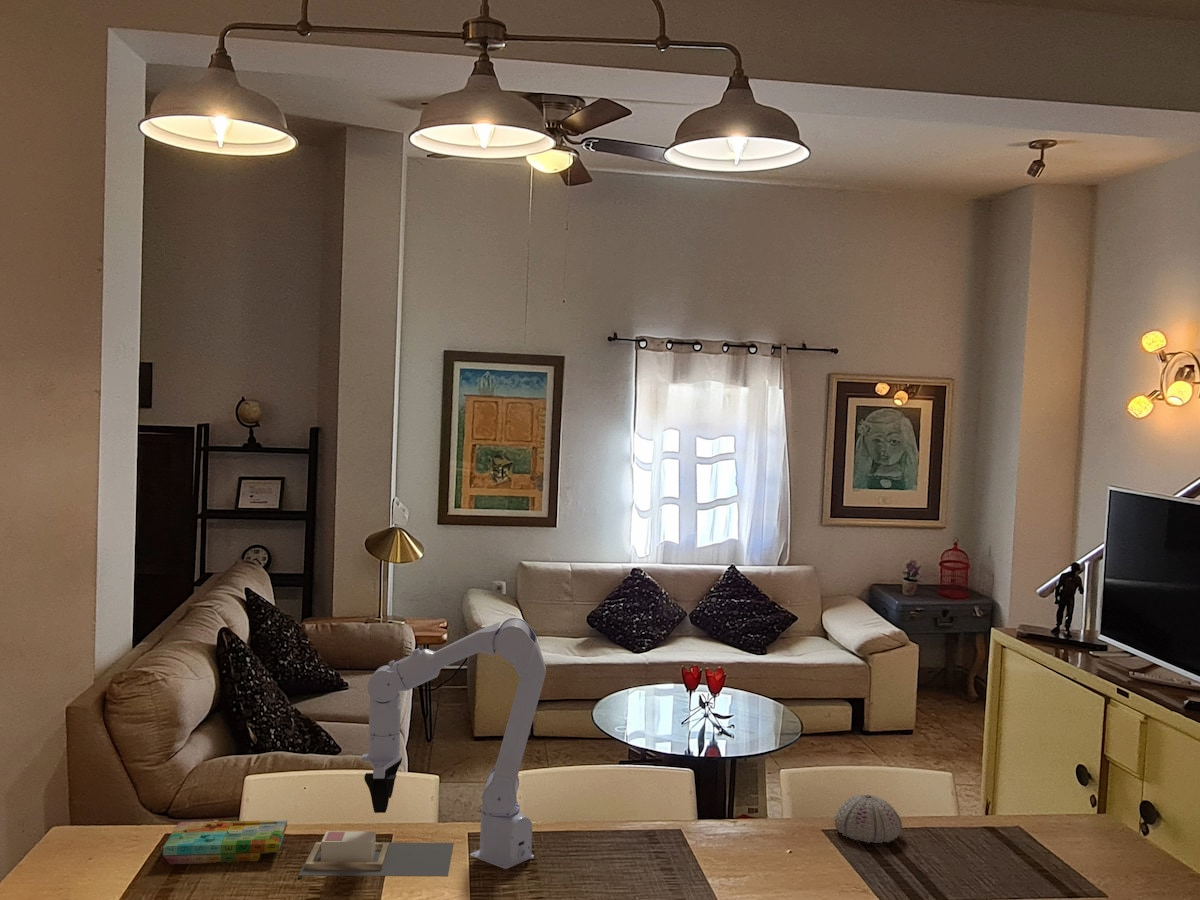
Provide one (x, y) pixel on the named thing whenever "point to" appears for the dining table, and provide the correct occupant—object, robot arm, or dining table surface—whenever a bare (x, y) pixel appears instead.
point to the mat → (400, 861)
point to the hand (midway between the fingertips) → (382, 804)
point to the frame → (377, 865)
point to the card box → (348, 846)
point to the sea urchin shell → (868, 819)
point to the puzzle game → (223, 841)
